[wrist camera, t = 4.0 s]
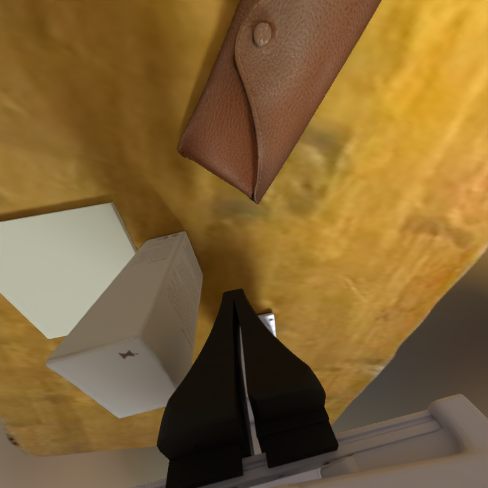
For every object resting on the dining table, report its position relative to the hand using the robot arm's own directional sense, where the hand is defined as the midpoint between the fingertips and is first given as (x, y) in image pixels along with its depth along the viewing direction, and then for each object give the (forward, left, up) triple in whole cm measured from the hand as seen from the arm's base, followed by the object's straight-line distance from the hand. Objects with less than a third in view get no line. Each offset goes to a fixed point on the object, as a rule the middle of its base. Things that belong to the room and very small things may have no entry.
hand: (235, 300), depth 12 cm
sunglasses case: (+14, -6, -9) cm, 18 cm away
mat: (0, +16, -8) cm, 18 cm away
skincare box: (0, +6, -8) cm, 10 cm away
